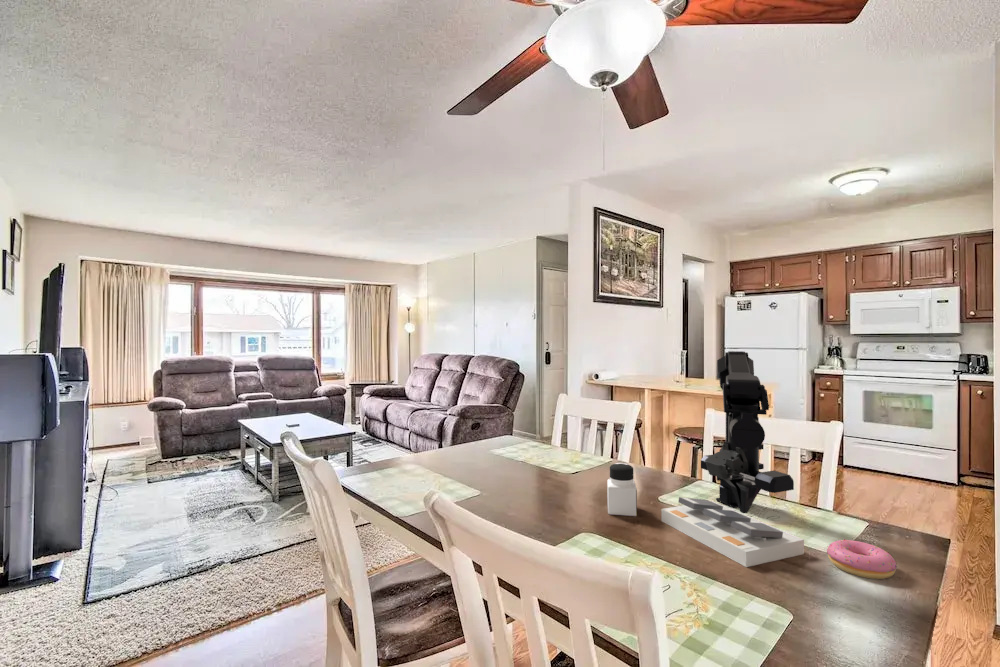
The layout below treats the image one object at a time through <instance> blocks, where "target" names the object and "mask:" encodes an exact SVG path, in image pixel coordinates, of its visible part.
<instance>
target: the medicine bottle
mask: <svg viewBox="0 0 1000 667" xmlns="http://www.w3.org/2000/svg"><path fill="white" fill-rule="evenodd" d="M606 481H607V482H606V483H607V484H606V488H607V490H606V491H607V493H606V494H607V514H608V515H611V516H613V515H615V516H627V517H629V516H630V517H637V516H638V509H637V508H638V496H637V495H638V493H637V492H638V489H637V487H636V482H635V480H634V467H633V466H632V465H630V464H628V463H622V462H621V463H620V462H617V463H613V464H610V465H609V478H608V479H607V480H606Z"/></svg>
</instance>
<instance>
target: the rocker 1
mask: <svg viewBox="0 0 1000 667" xmlns="http://www.w3.org/2000/svg"><path fill="white" fill-rule="evenodd" d="M711 501H712V500H709V499H701V498H700V499H699V498H690V497H680V496H679V498H678V503H679V504H681V505H682V506H683V505H685V506H688V507H690V508H692V509H697V510H703V508H705V509H717V510H723V506H724V505H723V506H720V505H721V504H720V505H718V504H719V503H718V504H716V503H717V502H716V503H713V502H714V501H713V502H711Z"/></svg>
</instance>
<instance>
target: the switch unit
mask: <svg viewBox="0 0 1000 667" xmlns="http://www.w3.org/2000/svg"><path fill="white" fill-rule="evenodd" d="M710 501H711V502H713V503H716V504H718V505H720V506H723V510H729V511H735V512H737V513H739V514H742V515H744V516H746V517H749V518H751V521H750V522H752V523H763V524H765V525H768V526H770V527H772V528H775V529H777V530H779V531H782V532H783V536H782V538H778V537H761V536H750V535H748V534H746V533H743V532H741V531H739V530H737V529H735V528H733V527H731V522H720V521H718V520H715V519H713V518H711V517H709V516H707V515H705V514H703V510H697V509H692V508H690V507H688V506H685V505H683V504H682V505H678V506H671V507H665V508H661V511H660V512H661V517H660V518H661V522H662V523H665V524H666V525H668V526H670V527H671V528H673V529H675V530H677V531H679V532H681V533H682V534H685V535H686V536H688V537H690V538H691V539H693V540H695V541H697V542H699V543H701V544H703V545H704V546H706V547H707V548H708V547H709V549H712V550H714V551H715V552H717V553H719V554H721V555H723V556H725V557H727V558H729V559H731V560H732V561H733V562H736V563H738V564H740V565H741V566H743V567H745V568H748V567H754V566H757V565H761V564H767V563H770V562H775V561H776V562H777V561H780V560H783V559H787V558H793V557H796V556H801V555H804V554H805V539H803V538H801V537H798V536H796V535H793V534H792V533H788V532H786V531H784V530H783V529H780V528H777V527H776V526H773V525H770V524H767V523H766V522H762V521H761V520H758V519H756V518H754V517H752V516H748V515H747V514H745V513H742V512H740V511H736V510H734V509H732V508H730V507H728V506H725V505H723V504H721V503H717V502H715V501H713V500H710Z"/></svg>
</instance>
